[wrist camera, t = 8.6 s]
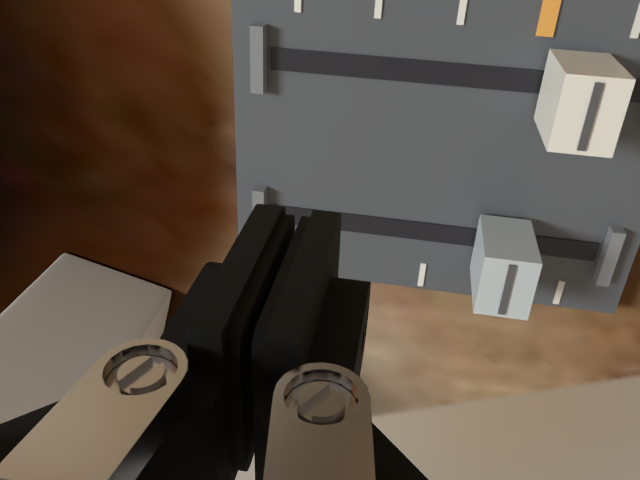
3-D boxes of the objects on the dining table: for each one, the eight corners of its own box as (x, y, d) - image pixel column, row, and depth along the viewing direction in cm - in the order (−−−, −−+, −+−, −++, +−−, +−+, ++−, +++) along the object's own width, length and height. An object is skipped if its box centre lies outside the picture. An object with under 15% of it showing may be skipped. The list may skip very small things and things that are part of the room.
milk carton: (65, 250, 38) (-220, 525, 21) (174, 288, 38) (-28, 592, 22) (57, 333, 41) (-190, 621, 25) (156, 368, 41) (-27, 679, 25)
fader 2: (549, 48, 25) (566, 74, 22) (609, 53, 25) (636, 80, 22) (533, 118, 27) (547, 152, 23) (590, 123, 27) (612, 159, 23)
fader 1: (480, 214, 30) (484, 258, 26) (531, 220, 29) (543, 265, 26) (469, 266, 31) (473, 314, 28) (518, 272, 31) (527, 321, 27)
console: (240, -56, 27) (224, -52, 25) (719, -26, 25) (741, -18, 23) (246, 250, 35) (235, 271, 34) (608, 297, 33) (618, 322, 31)
